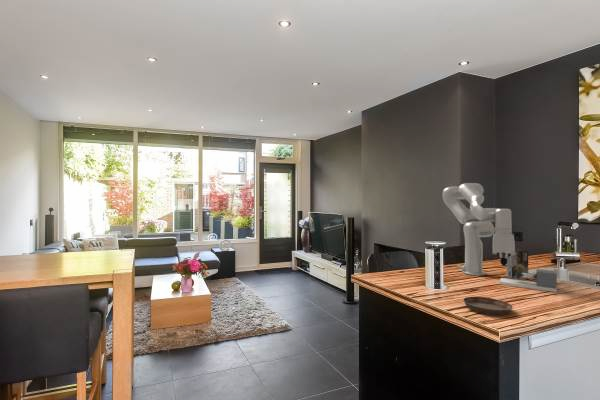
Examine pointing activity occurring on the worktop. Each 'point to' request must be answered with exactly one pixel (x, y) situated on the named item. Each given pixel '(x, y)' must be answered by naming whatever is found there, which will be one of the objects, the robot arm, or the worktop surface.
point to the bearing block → (546, 278)
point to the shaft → (524, 275)
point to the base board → (524, 284)
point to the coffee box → (517, 263)
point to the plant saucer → (487, 305)
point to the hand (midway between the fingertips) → (503, 265)
